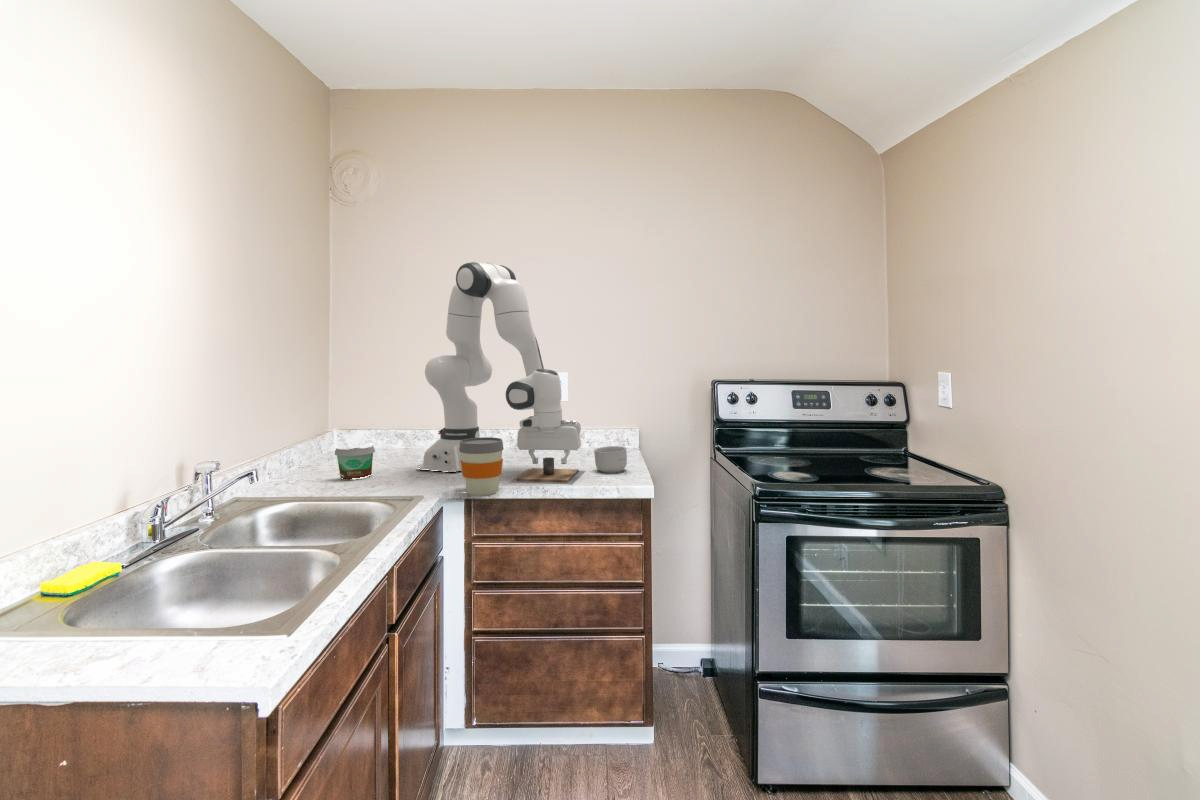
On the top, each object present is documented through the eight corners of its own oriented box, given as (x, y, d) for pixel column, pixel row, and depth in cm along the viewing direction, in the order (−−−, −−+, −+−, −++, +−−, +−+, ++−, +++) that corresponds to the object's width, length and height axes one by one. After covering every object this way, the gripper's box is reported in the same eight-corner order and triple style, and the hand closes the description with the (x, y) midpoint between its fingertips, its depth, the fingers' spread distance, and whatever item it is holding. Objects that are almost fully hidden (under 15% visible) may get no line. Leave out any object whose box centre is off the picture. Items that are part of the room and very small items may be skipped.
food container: (337, 482, 193) (335, 451, 192) (335, 479, 198) (334, 448, 197) (378, 478, 199) (377, 447, 198) (376, 474, 204) (374, 444, 203)
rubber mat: (508, 483, 189) (508, 482, 189) (528, 470, 208) (528, 469, 208) (572, 485, 185) (572, 484, 185) (586, 472, 205) (586, 470, 205)
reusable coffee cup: (504, 485, 186) (502, 436, 185) (505, 495, 174) (503, 443, 172) (461, 487, 184) (460, 438, 183) (459, 498, 172) (457, 444, 170)
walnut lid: (516, 481, 190) (516, 462, 190) (532, 470, 206) (531, 453, 206) (567, 482, 187) (566, 463, 187) (578, 471, 203) (578, 454, 203)
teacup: (624, 475, 198) (623, 451, 198) (591, 474, 200) (590, 450, 200) (630, 467, 212) (630, 444, 211) (599, 466, 214) (599, 443, 213)
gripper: (582, 419, 196) (583, 462, 197) (521, 419, 200) (522, 461, 201) (578, 421, 190) (579, 466, 191) (514, 421, 194) (516, 465, 195)
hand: (549, 463), depth 196 cm, fingers open, 8 cm apart
